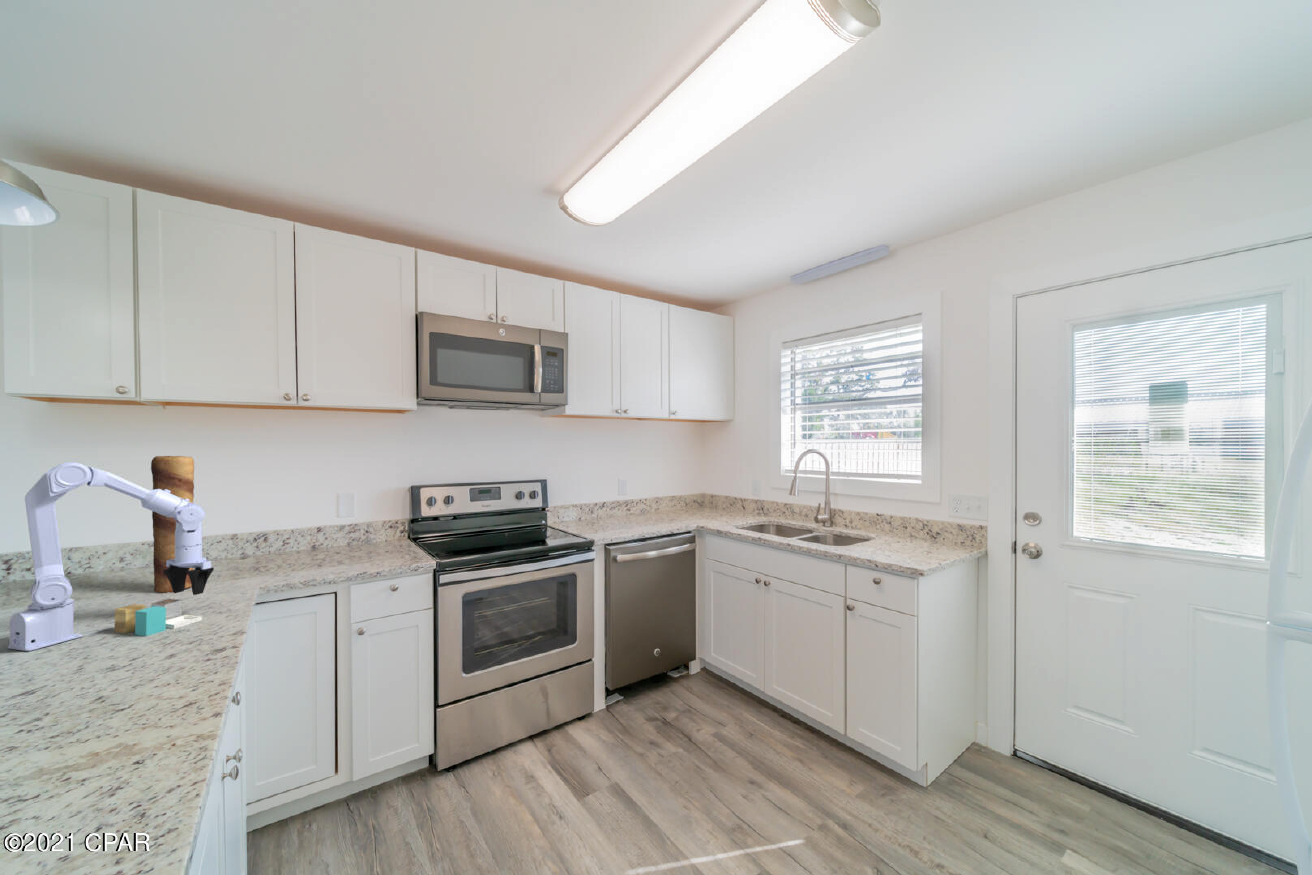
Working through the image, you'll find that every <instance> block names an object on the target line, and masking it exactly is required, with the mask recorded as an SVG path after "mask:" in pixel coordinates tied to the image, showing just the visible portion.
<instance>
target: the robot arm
mask: <svg viewBox="0 0 1312 875" xmlns="http://www.w3.org/2000/svg"><path fill="white" fill-rule="evenodd" d="M84 485H86V486H89V487H105V488H108V489H111V490H113V491H116V492H119V493H121V494H123V495H127V496H129V497H132V498H134V499H137V500H140V503H141V506H142V508H144V509H147V510H149V511H154V512H156V513H159V514H161V515H164V516H166V517H173V518H174V519H175V520H176V521H179V522H176V530H175V559H171V560H166V567H170V568H169V569H165V570H163V573H164V574H165V575H166V576H167V578H168V579H169V581H170V584H171V587H172V590H173V592H172V593H173V594H177V593H178V594H179V593H183V592H184V591H185V590H186V589H185V581H186V576H187V574H188V576H189V578H190V580H191V585H192V587H191V593H192V594H193V596H197V595H200V594H203V593H204V591H205V588H206V585H207V583H208V580H209V577H210V576H211V574H212V573H213V572H214V569H215V568H214V567H212V561H211V560H207V557H203V527H202V526H203V520H204V518H205V517H206V512H205V511H204V509H203V507H202V506H200V505H198V504H196V503H194V502H193V503H191V502H189V499H186V498H185V499H182V498H180V497H177V496H175V495H173V494H170V492H171V491H169V490H167V489H164V491H163V490H161V489H155V490H153V489H150V490H149V489H147V488H145V487H143V486H140V485H138V484H136V483H134V482H132V481H129V480H127V479H125V478H123V477H120V476H118V475H116V474H114V473H112V472H109V471H106V470H103V469H98V468H96V467H91V466H86V465H84V464H83V463H80V462H75V461H74V462H73V461H66V462H63V463H59V464H57V465H55V466H54V467H52V468H50V469H49V470H47V471H45V473H44V474H42V475H41V477H40V478H39V479H38V480H37V481H36V483H35V484H33V486H32V487H31V488H30V489H29V491H28V492H27V493H26V494H25V497H24V502H25V509H26V517H27V518H26V519H27V524H28V525H27V526H28V531H29V532H28V534H29V541H30V547H31V554H32V563H33V570H34V571H33V572H34V577H35V579H34V582H33V584H32V585H31V587H30V594H31V595H30V598H31V599H30V600H31V601H32V602H31V603H30V604H28V605H27V609H24V610H23V611H20V612H16V613H14V614H13V615H12V616H11V617H10V620H9V645H8V646H7V647H6V648H7V649H9V650H18V651H24V652H32V651H35V650H38V649H42V648H46V647H50V646H53V645H57V644H60V643H64V642H68V641H71V640H75V639H79V638H82V637H84V634H83V633H82V634H81V633H75V632H74V631H75V630H74V629H75V628H74V625H75V624H74V622H75V621H74V620H75V619H74V618H75V615H74V614H75V611H74V610H75V599H74V598H71V596H72V594H73V587H72V585H71V582H70V579H68V578H67V577H66V576H65V572H64V566H63V565H64V564H63V557H62V549H61V542H60V535H59V527H58V518H57V511H56V501H58V500H59V499H61V497H64V496H65V495H66V494H67V493H68V492H70V491H72V490H75V489H78V488H80V487H82V486H84ZM189 568H193V570H190V571H188V570H189Z"/></svg>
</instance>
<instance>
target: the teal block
mask: <svg viewBox="0 0 1312 875" xmlns="http://www.w3.org/2000/svg"><path fill="white" fill-rule="evenodd" d="M166 629H167V628H166V607H158V606H154V607H151V606H150V607H147V608H146V607H145V609H142V610H138V611H135V631H134V632H135V633H134V634H135V636H140V635H141V636H142V637H149V636H152V635H155V634H158V633H162V632H166ZM141 636H140V637H141Z"/></svg>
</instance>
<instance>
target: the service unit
mask: <svg viewBox="0 0 1312 875" xmlns="http://www.w3.org/2000/svg"><path fill="white" fill-rule="evenodd" d="M154 606H158V607H166V620H169V619H172V618H176V617H179V616H183V599H174V598H167V599H163V600H159V601H155V602H151V605H150V607H154Z"/></svg>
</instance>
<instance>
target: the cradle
mask: <svg viewBox="0 0 1312 875" xmlns="http://www.w3.org/2000/svg"><path fill="white" fill-rule="evenodd" d="M200 621H203V616H198V615H191V614H190V615H189V614H182V616H179V617H176V618H172V619H169V620H166V629H173V630H175V629H177V628H181V627H184V626H187V625H191V624H195V623H198V622H200Z"/></svg>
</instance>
